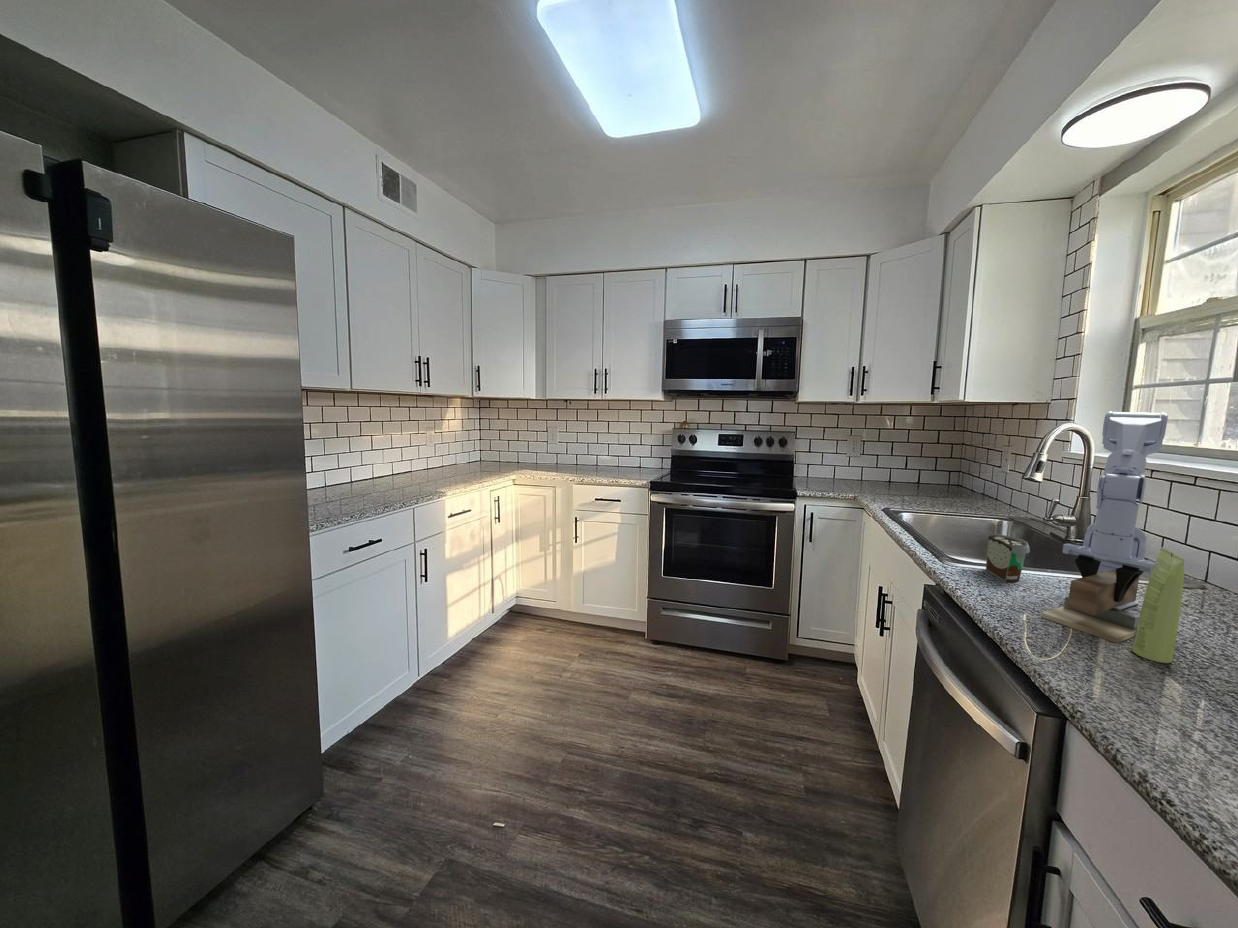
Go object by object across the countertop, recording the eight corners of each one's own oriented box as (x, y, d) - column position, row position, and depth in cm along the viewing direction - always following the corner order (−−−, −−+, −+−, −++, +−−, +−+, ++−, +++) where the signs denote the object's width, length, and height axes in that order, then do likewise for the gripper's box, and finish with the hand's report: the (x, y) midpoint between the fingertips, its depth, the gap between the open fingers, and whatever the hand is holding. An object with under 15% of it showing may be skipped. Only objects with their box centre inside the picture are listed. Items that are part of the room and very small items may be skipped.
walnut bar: (1110, 593, 106) (1114, 569, 105) (1135, 600, 102) (1139, 575, 101) (1067, 606, 98) (1071, 580, 98) (1092, 614, 95) (1097, 587, 94)
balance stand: (1083, 604, 110) (1086, 589, 109) (1158, 626, 99) (1161, 610, 99) (1040, 616, 102) (1043, 601, 102) (1117, 643, 92) (1120, 625, 91)
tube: (1184, 664, 84) (1205, 556, 82) (1163, 667, 83) (1184, 557, 81) (1143, 648, 90) (1161, 546, 87) (1123, 650, 89) (1141, 547, 86)
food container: (1037, 586, 120) (1042, 547, 119) (1008, 584, 122) (1014, 545, 120) (1008, 570, 132) (1013, 534, 131) (982, 567, 133) (987, 532, 132)
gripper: (1059, 525, 103) (1050, 586, 105) (1155, 544, 90) (1143, 613, 92) (1075, 523, 106) (1066, 582, 108) (1171, 540, 93) (1159, 608, 95)
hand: (1103, 596), depth 100 cm, fingers closed on walnut bar, 4 cm apart
